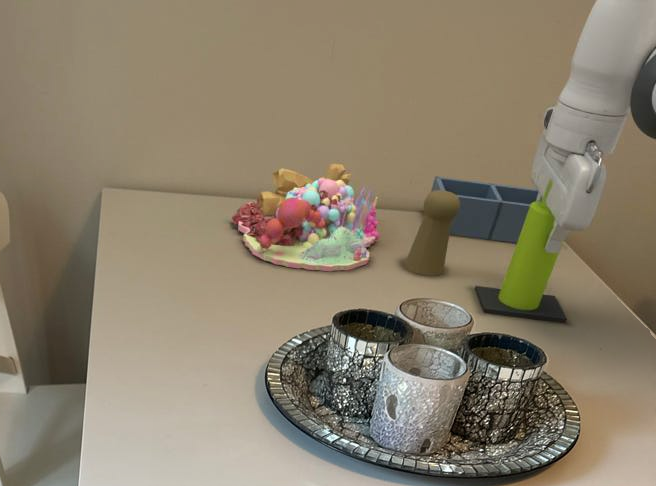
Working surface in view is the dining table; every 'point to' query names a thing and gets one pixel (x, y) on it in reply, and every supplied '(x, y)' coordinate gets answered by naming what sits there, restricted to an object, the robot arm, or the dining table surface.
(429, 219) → the olive game pawn
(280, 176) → the candy landscape model
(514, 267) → the soap dispenser
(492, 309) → the mat
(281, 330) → the dining table surface
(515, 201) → the box
